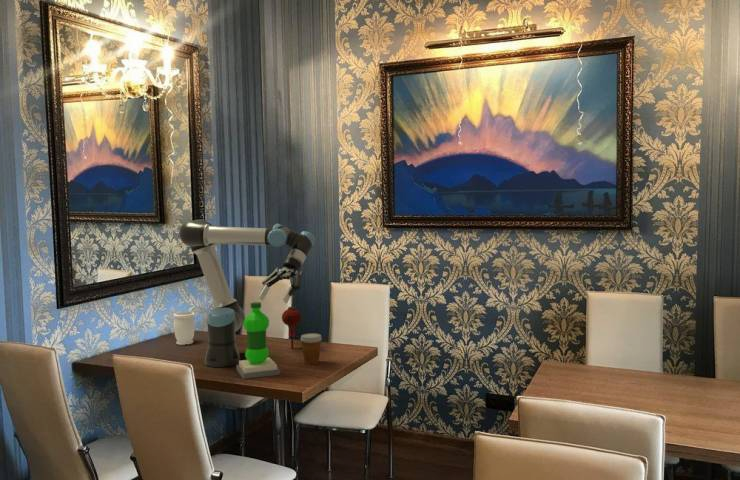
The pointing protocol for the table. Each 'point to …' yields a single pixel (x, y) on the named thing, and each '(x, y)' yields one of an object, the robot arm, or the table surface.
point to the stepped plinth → (257, 374)
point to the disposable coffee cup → (311, 347)
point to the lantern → (291, 320)
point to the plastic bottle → (256, 335)
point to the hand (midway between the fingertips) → (272, 300)
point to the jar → (184, 327)
